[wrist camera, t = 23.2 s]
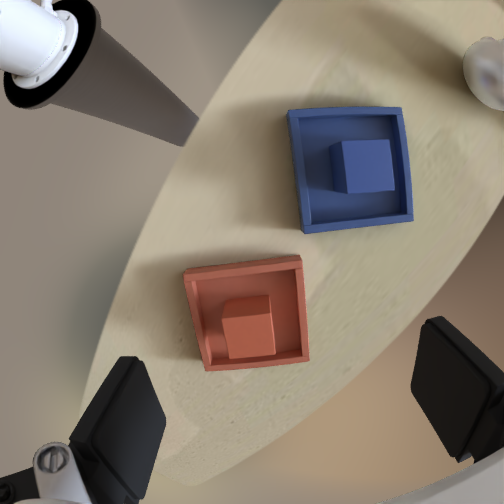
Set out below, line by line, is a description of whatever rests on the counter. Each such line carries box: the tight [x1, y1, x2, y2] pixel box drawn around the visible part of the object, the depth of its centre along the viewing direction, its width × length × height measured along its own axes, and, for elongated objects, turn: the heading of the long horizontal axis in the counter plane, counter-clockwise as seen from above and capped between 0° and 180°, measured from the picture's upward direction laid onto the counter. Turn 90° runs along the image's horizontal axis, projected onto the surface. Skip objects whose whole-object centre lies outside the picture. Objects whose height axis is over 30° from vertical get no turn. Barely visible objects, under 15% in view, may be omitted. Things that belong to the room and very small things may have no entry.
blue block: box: [329, 139, 395, 194], centre depth 25 cm, size 4×4×4 cm
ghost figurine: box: [463, 37, 504, 111], centre depth 19 cm, size 9×10×10 cm
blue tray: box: [286, 107, 414, 234], centre depth 27 cm, size 12×12×2 cm
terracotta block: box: [221, 295, 276, 359], centre depth 29 cm, size 4×4×4 cm
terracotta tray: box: [183, 255, 310, 371], centre depth 31 cm, size 12×12×2 cm
